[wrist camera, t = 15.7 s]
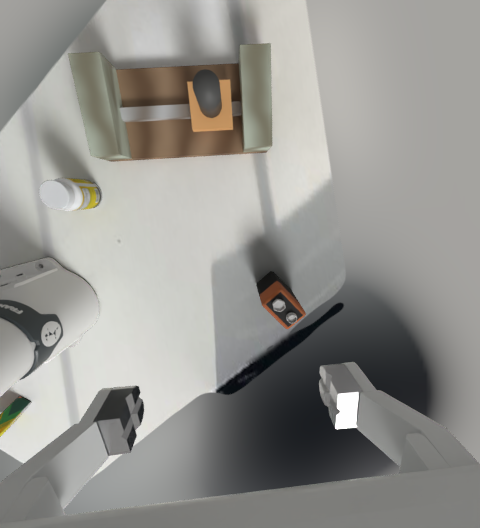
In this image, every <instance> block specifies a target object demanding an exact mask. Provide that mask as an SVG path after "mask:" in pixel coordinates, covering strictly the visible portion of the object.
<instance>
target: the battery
mask: <svg viewBox="0 0 480 528" xmlns="http://www.w3.org/2000/svg"><path fill="white" fill-rule="evenodd" d="M257 289H258V292H259V296H260V299H261V303H262V306H263V307H264V308H265V309H266V310H267V311H268V312H269V313H270V314H271V315H272V316H273V317H274V318H275V319H276V320H277V321H278V322H279V323H280V324H281V325H282V326H283V327H285V328H286V329H289V328H290V327H291V326H293V325H294V324H295V323H296V322H298V321H299V320H300V319H301V318H303V317H304V316H305V315H306V314H305V311H304V310H303V308H302V307H301V305H300V303H299V302H298V300H297V299H296V297H295V295H294V294H293V292H292V291H291V290H290V289H289V288H288V287H287V286H286V285H285V284H284V283H283V281H282V280H281V279H280V278H279V277H278V276H277V275H276V274H275V273H274V272H272V271H271V272H270V273H268V274H267V275H266V276H265V277H264V278H263V279H262V280H260V281H259V282H258V283H257Z"/></svg>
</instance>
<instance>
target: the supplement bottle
mask: <svg viewBox="0 0 480 528" xmlns="http://www.w3.org/2000/svg"><path fill="white" fill-rule="evenodd" d="M39 195H40V198H41V200H42V201H43V203H44V204H45V205H46V206H48V207H50V208H52V209H56V210H60V209H61V210H65V211H74V210H83V209H91V208H95V207H97V206H98V205H99V204H100V203H101V200H102V193H101V190H100V188H99V187H98V186H97V185H96V184H95V183H94V182H92V181H89V180H83V179H70V178H58V179H55V180H47V181H45V182H43V183H42V184H41V186H40V188H39Z"/></svg>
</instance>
